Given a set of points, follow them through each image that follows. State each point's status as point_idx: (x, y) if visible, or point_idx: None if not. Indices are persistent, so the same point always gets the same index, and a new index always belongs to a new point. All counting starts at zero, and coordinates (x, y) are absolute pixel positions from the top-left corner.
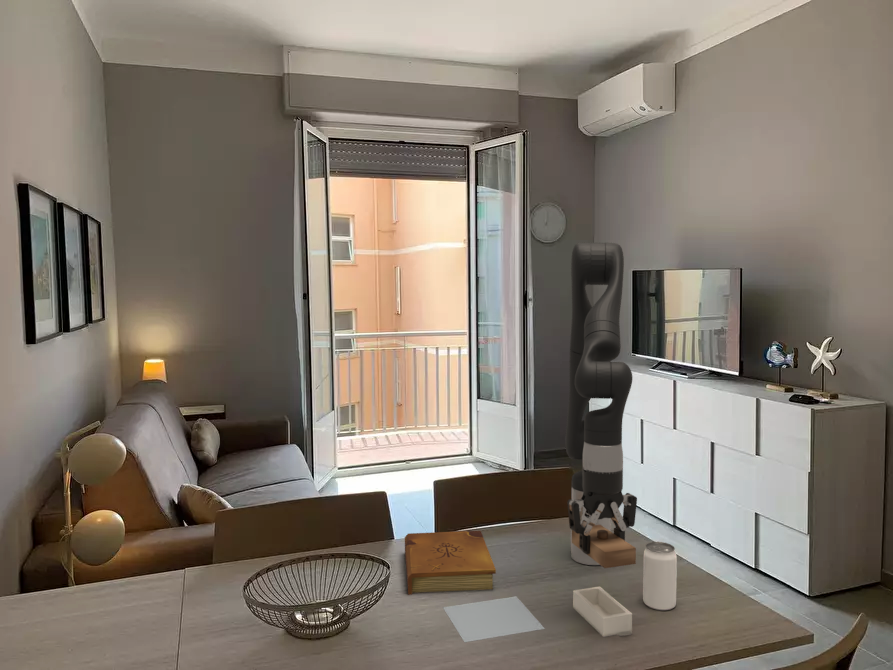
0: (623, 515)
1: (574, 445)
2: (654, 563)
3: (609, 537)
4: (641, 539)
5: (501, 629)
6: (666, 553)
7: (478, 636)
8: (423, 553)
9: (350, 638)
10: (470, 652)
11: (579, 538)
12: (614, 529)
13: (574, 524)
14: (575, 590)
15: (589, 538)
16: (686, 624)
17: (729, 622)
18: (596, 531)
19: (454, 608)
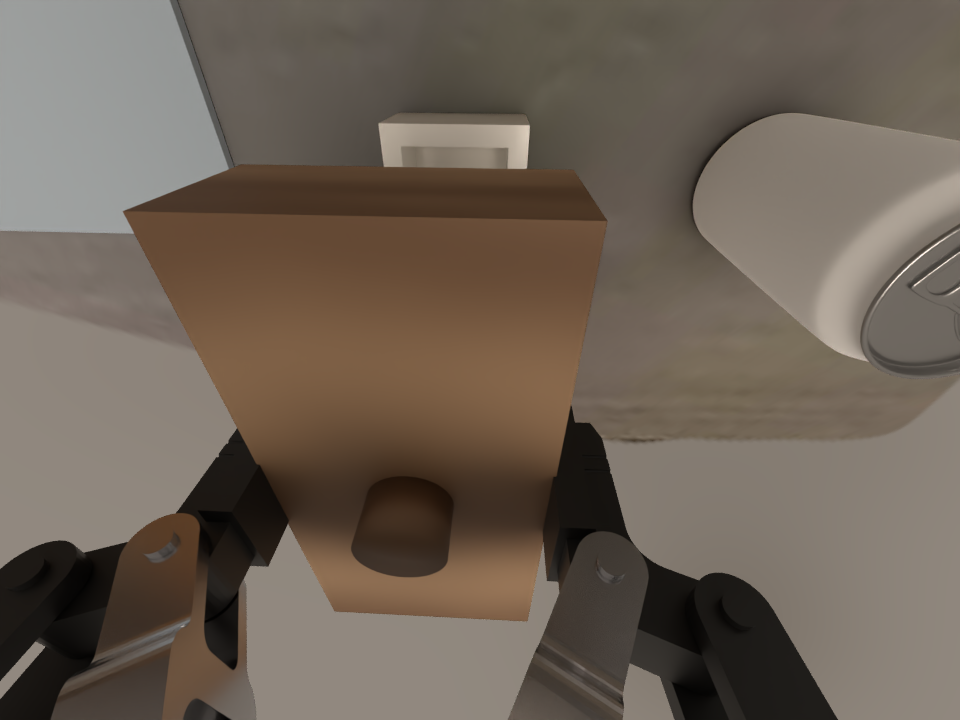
0: (726, 693)
1: None
2: (798, 313)
3: (468, 512)
4: None
5: (94, 193)
6: (899, 369)
7: (19, 212)
8: None
9: None
10: (27, 269)
11: (202, 479)
12: (556, 526)
13: (13, 702)
14: (389, 128)
15: (270, 542)
16: (697, 331)
17: (815, 357)
18: (421, 399)
19: None
